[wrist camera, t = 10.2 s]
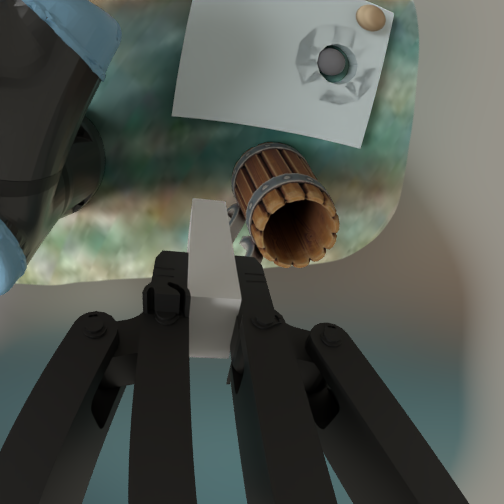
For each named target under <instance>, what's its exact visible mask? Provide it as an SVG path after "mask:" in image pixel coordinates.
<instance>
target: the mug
mask: <svg viewBox="0 0 504 504" xmlns="http://www.w3.org/2000/svg"><path fill="white" fill-rule="evenodd" d="M231 182H232V191H233V194H234V197H235V199H236V202H237V204H234V205H232V206H230V207H229V208H228V209H227V214H228V220H229V226H230V232H231V239H232V244H233V242H234V240H235V238H236V237H237V235H238V233H239V232H240V230H241V228H242V227H243V225H244V223H245V221H246V224H247V227H248V230H249V233H250V235H251V236H243V237H242V239H241V241H240V243H239V244H240V245H241V246H242V247H243V248H244V249H246V250H247V252H246V255H245V256H247V257H255V258H256V259H257V260H258V262H259V263H260V264H261V262H262V259H263V256H264V257H265V258H266V259H268V260H269V261H274V263H275V264H276V265H278V266H280V267H284V268H288V267H290V266H291V264H292V265H293V266H294V267H297V268H302V267H305V266H307V265H308V264H309V262H310V260H312V261H314V262H315V261H319V260H320V259H322V258H323V257H324V256H325V253H326V249H331V248H332V247H333V246H334V244H335V242H336V238H337V235H336V233H337V232H338V230H339V218H338V215H337V214H336V209H335V207H334V203H333V201H332V199H331V197H330V195H329V194H328V192H327V191H326V189H325V188H324V187H323V186H322V185H321V184H320V183H319V181H318V180H317V178H316V177H315V175H314V174H313V172H312V170H311V168H310V166H309V164H308V163H307V161H306V160H305V158H304V157H303V156H302V155H301V154H300V153H299V152H298V151H297V150H296V149H294V148H292V147H290V146H288V145H286V144H282V143H273V142H267V143H262V144H258V146H256V147H252V148H250V149H249V150H247V151H246V152H245V153H244V154H243V155H242V156H241V158H240V159H239V161H237V163H236V165H235V167H234V170H233V173H232V179H231Z"/></svg>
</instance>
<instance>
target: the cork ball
mask: <svg viewBox="0 0 504 504" xmlns="http://www.w3.org/2000/svg"><path fill="white" fill-rule="evenodd" d="M356 20H357V22H358V24H359V25H360V26H361V27H362V28H363V29H365V30H367V31H378V30H380V29H382V28H383V27H384V25H385V22H386V18H385V15H384V13H383V11H382V10H381V9H380V8H378V7H376V6H374V5H363V6H361V7H360V8H359V9H358V10H357V12H356Z"/></svg>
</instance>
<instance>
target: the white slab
mask: <svg viewBox="0 0 504 504" xmlns="http://www.w3.org/2000/svg"><path fill="white" fill-rule="evenodd" d="M363 5H374V6H376V7H378V8H380V9H381V10H382V11H383V13H384V15H385V18H386V22H385V25H384V27H383V28H382V29H380V30H378V31H367V30H365V29H363V28H362V27H361V26H360V25H359V24H358V22H357V20H356V12H357V10H358V9H359V8H360V7H361V6H363ZM393 17H394V13H393V12H391V11H388V10H386V9H384V8H382V7H380V6H378V5H375V4H373V3H371V2H368V1H366V0H192V5H191V9H190V14H189V18H188V23H187V28H186V33H185V38H184V43H183V48H182V53H181V59H180V65H179V70H178V76H177V83H176V89H175V96H174V103H173V110H172V116H177V117H187V118H197V119H206V120H214V121H222V122H229V123H236V124H243V125H250V126H256V127H262V128H268V129H273V130H279V131H284V132H289V133H295V134H300V135H304V136H309V137H314V138H318V139H323V140H327V141H331V142H336V143H340V144H344V145H348V146H352V147H356V148H359V149H360V148H361V144H362V141H363V138H364V134H365V131H366V127H367V124H368V120H369V117H370V113H371V109H372V106H373V102H374V98H375V94H376V90H377V86H378V83H379V79H380V75H381V70H382V66H383V62H384V58H385V54H386V49H387V45H388V40H389V36H390V31H391V26H392V22H393ZM328 45H333V46H336V47H339V48H340V49H341V50H342V51H343V52H344V53H345V54H346V55H347V58H348V61H349V69H348V73H347V75H346V76H345V77H344V78H343V79H342V80H341V81H338V82H334V83H330V82H328V81H327V80H326V79H325V78H324V77H323V76H322V75H321V74H320V72H319V68H318V65H317V61H318V57H319V53H320V52H321V51H322V50H323V49H324V48H325V47H326V46H328Z"/></svg>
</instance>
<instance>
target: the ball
mask: <svg viewBox="0 0 504 504" xmlns="http://www.w3.org/2000/svg"><path fill="white" fill-rule="evenodd" d="M317 65H318V68H319V70H320V71H321V72H322V73H324V74H326V75H337V74H339V73H341V72H342V71H343V69H344V67H345V58H344V56H343V55H342V53H341V52H339V51H338V50H336V49H333V48H326V49H323V50H322V51H321V52H320V53H319V57H318V61H317Z"/></svg>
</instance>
